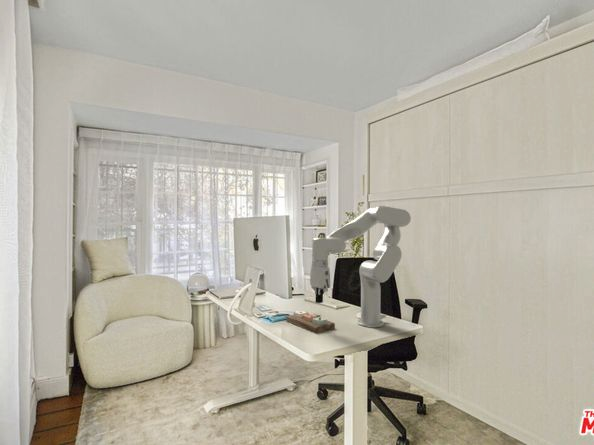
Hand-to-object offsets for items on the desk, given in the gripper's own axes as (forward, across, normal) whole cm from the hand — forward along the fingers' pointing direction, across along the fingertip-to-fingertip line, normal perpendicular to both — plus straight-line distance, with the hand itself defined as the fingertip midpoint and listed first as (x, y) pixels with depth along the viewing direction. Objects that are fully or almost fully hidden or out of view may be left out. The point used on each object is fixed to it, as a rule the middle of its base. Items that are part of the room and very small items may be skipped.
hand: (319, 302), depth 156 cm
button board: (+12, +7, 0) cm, 14 cm away
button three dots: (+11, 0, 0) cm, 11 cm away
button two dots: (+11, +7, 0) cm, 13 cm away
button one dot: (+11, +15, 0) cm, 18 cm away
